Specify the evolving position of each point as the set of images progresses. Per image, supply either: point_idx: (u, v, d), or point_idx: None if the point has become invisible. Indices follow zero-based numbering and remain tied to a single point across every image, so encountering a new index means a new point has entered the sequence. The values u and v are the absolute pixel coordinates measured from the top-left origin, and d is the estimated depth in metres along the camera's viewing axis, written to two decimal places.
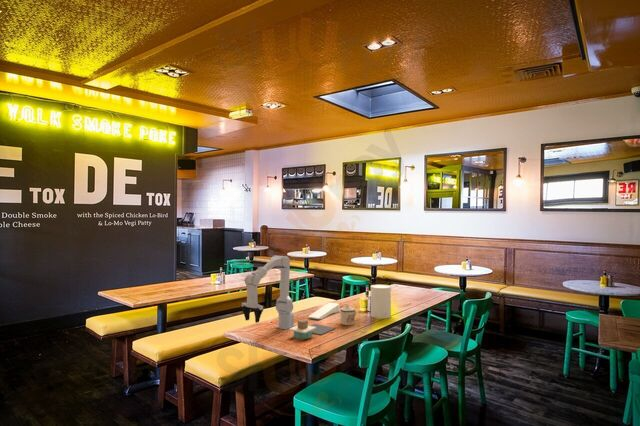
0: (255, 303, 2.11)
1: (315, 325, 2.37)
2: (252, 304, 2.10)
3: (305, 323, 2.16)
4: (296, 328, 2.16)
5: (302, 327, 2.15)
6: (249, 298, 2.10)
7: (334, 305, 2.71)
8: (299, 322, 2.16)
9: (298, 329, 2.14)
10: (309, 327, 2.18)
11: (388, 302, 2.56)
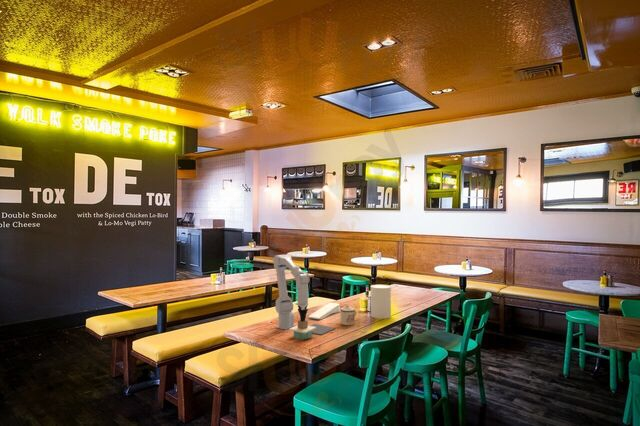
0: (302, 302, 2.15)
1: (315, 325, 2.37)
2: (299, 303, 2.15)
3: (305, 323, 2.16)
4: (296, 328, 2.16)
5: (302, 327, 2.15)
6: None
7: (334, 305, 2.71)
8: (299, 322, 2.16)
9: (298, 329, 2.14)
10: (309, 327, 2.18)
11: (388, 302, 2.56)
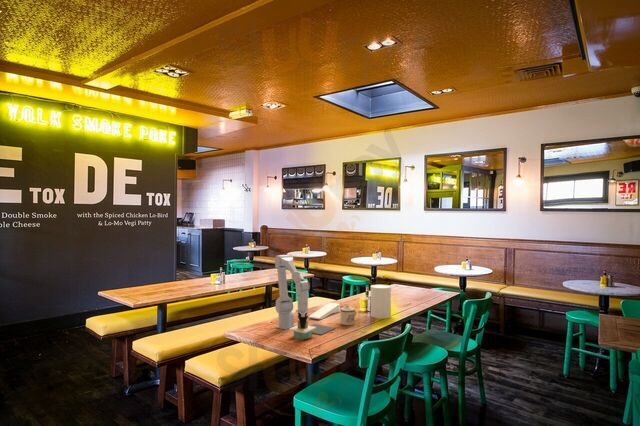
0: (302, 309, 2.15)
1: (315, 325, 2.37)
2: (299, 310, 2.15)
3: None
4: (296, 328, 2.16)
5: None
6: None
7: (334, 305, 2.71)
8: (299, 322, 2.16)
9: (298, 329, 2.14)
10: (309, 327, 2.18)
11: (388, 302, 2.56)
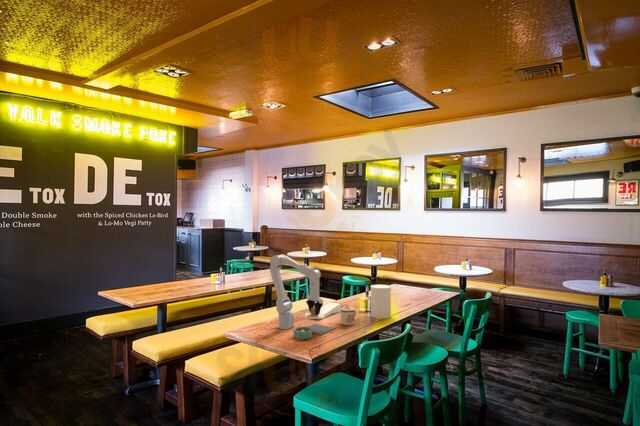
0: (316, 297, 2.24)
1: (315, 325, 2.37)
2: (313, 297, 2.24)
3: None
4: (310, 316, 2.24)
5: None
6: (311, 292, 2.25)
7: (335, 305, 2.71)
8: (312, 310, 2.25)
9: (313, 316, 2.23)
10: (319, 313, 2.29)
11: (388, 302, 2.56)
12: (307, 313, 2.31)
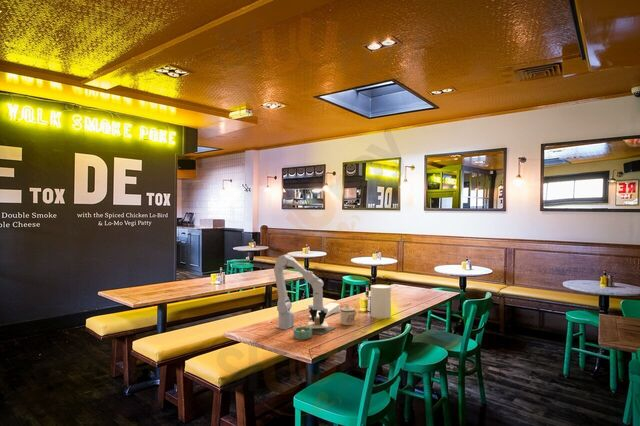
0: (320, 306, 2.28)
1: None
2: (318, 307, 2.27)
3: None
4: (314, 325, 2.27)
5: None
6: (315, 301, 2.27)
7: (335, 305, 2.71)
8: (317, 319, 2.28)
9: (318, 325, 2.26)
10: None
11: (388, 302, 2.56)
12: (310, 322, 2.33)
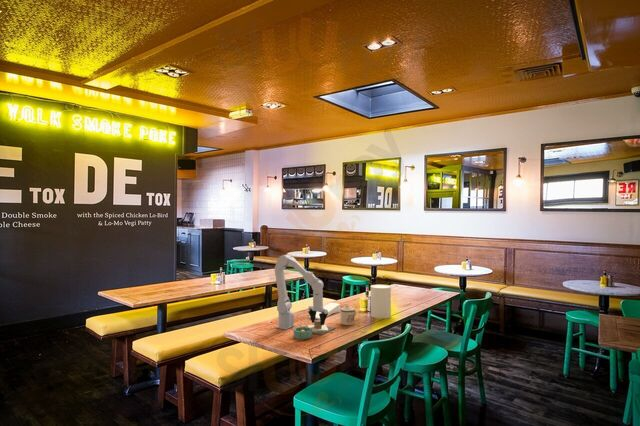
0: (320, 307, 2.28)
1: None
2: (318, 308, 2.27)
3: None
4: (314, 329, 2.27)
5: (320, 326, 2.28)
6: (315, 302, 2.27)
7: (335, 305, 2.71)
8: (316, 322, 2.28)
9: (318, 329, 2.26)
10: (321, 326, 2.33)
11: (388, 302, 2.56)
12: (309, 326, 2.33)
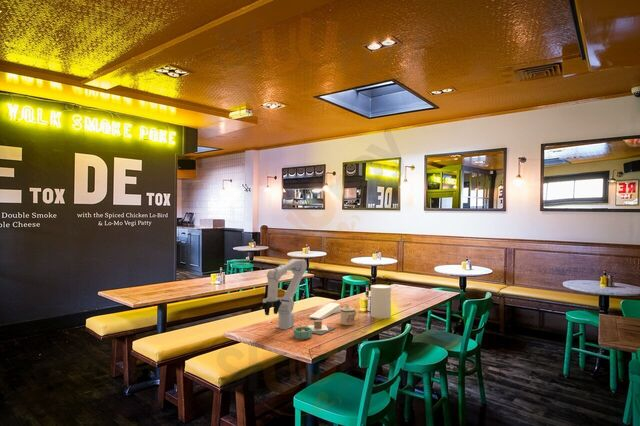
0: (269, 296, 2.23)
1: None
2: None
3: None
4: (314, 329, 2.27)
5: (320, 326, 2.28)
6: None
7: (335, 305, 2.71)
8: (316, 322, 2.28)
9: (318, 329, 2.26)
10: (321, 326, 2.33)
11: (388, 302, 2.56)
12: (309, 326, 2.33)
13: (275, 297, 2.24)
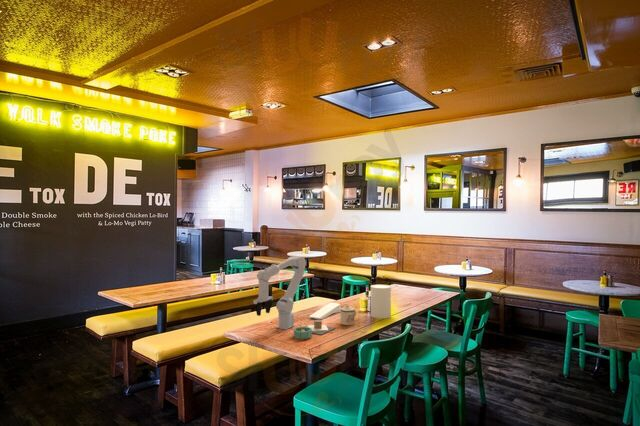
0: (259, 297, 2.24)
1: None
2: None
3: None
4: (314, 329, 2.27)
5: (320, 326, 2.28)
6: None
7: (335, 305, 2.71)
8: (316, 322, 2.28)
9: (318, 329, 2.26)
10: (321, 326, 2.33)
11: (388, 302, 2.56)
12: (309, 326, 2.33)
13: (266, 297, 2.24)
